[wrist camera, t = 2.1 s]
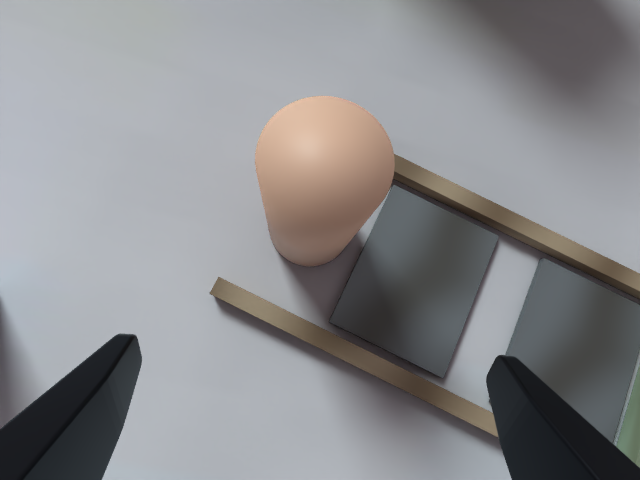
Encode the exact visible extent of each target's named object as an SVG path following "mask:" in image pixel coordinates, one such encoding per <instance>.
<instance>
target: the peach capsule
mask: <svg viewBox="0 0 640 480" xmlns="http://www.w3.org/2000/svg"><path fill="white" fill-rule="evenodd" d="M255 165H256V173H257V177H258V182H259V186H260V191H261V196H262V200H263V205H264V209H265V214H266V219H267V223H268V228H269V232H270V236H271V240H272V242H273V244H274V246H275V248H276V249H277V251H278V252H279V253H280V254H281V255H282V256H283V257H284V258H286V259H287V260H289V261H290V262H292V263H295V264H297V265H301V266H319V265H323V264H326V263H328V262H330V261H332V260H333V259H335V258H336V257H337V256H338V255H339V254H340V253H341V252H342V251H343V249H344V248H345V247H346V246H347V245H348V243H349V242H350V241H351V240H352V238H353V237H354V236H355V235H356V233H357V232H358V231H359V230H360V228H361V227H362V226H363V225H364V223H365V222H366V221H367V220H368V219H369V217H370V216H371V215H372V214H373V212H374V211H375V210H376V209H377V207H378V206H379V205H380V204H381V202H382V201H383V200H384V198H385V197H386V195H387V193H388V191H389V189H390V186H391V184H392V180H393V176H394V168H395V162H394V153H393V148H392V145H391V142H390V139H389V137H388V135H387V133H386V131H385V130H384V128H383V127H382V125H381V124H380V123H379V122H378V120H377V119H376V118H375V117H374V116H373V115H371V114H370V113H369V112H368V111H366V110H365V109H364V108H362V107H360V106H359V105H357V104H355V103H353V102H350V101H348V100H345V99H341V98H337V97H331V96H314V97H308V98H303V99H300V100H297V101H295V102H293V103H291V104H289V105H287V106H285V107H284V108H282V109H281V110H279V111H278V112H277V113H276V114H275V115H274V116H273V117H272V118H271V119H270V120H269V121H268V123H267V124H266V126H265V127H264V129H263V131H262V133H261V135H260V137H259V140H258V143H257V147H256V153H255Z"/></svg>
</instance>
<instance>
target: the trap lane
mask: <svg viewBox="0 0 640 480" xmlns="http://www.w3.org/2000/svg"><path fill="white" fill-rule="evenodd" d="M394 162H395V168H394V176H393V179H395V180H397V181H399V182H401V183H403V184H405V185H407V186H409V187H411V188H413V189H415V190H417V191H419V192H421V193H423V194H425V195H427V196H429V197H432V198H434V199H436V200H438V201H440V202H442V203H444V204H446V205H448V206H450V207H452V208H454V209H456V210H458V211H460V212H462V213H464V214H466V215H468V216H470V217H472V218H474V219H477V220H479V221H481V222H483V223H485V224H487V225H489V226H491V227H493V228H495V229H497V230H499V231H501V232H503V233H505V234H507V235H509V236H511V237H513V238H515V239H517V240H519V241H522V242H524V243H526V244H528V245H530V246H532V247H534V248H536V249H538V250H540V251H542V252H544V253H546V254H548V255H550V256H552V257H554V258H556V259H558V260H560V261H562V262H564V263H566V264H569V265H571V266H573V267H575V268H577V269H579V270H581V271H583V272H585V273H587V274H589V275H591V276H593V277H595V278H597V279H599V280H601V281H603V282H605V283H607V284H609V285H611V286H614V287H616V288H618V289H620V290H622V291H624V292H626V293H628V294H630V295H632V296H634V297H636V298H638V299H640V274H639V273H637V272H635V271H633V270H631V269H629V268H627V267H625V266H623V265H621V264H619V263H617V262H615V261H613V260H611V259H609V258H607V257H604V256H602V255H600V254H598V253H596V252H594V251H592V250H590V249H588V248H586V247H584V246H582V245H580V244H578V243H576V242H574V241H572V240H570V239H568V238H566V237H564V236H561V235H559V234H557V233H555V232H553V231H551V230H549V229H547V228H545V227H543V226H541V225H539V224H537V223H535V222H533V221H531V220H529V219H527V218H525V217H523V216H520V215H518V214H516V213H514V212H512V211H510V210H508V209H506V208H504V207H502V206H500V205H498V204H496V203H494V202H492V201H490V200H488V199H486V198H484V197H482V196H479V195H477V194H475V193H473V192H471V191H469V190H467V189H465V188H463V187H461V186H459V185H457V184H455V183H453V182H451V181H449V180H447V179H445V178H443V177H441V176H438V175H436V174H434V173H432V172H430V171H428V170H426V169H424V168H422V167H420V166H418V165H416V164H414V163H412V162H410V161H408V160H406V159H404V158H402V157H400V156H398V155H395V154H394ZM498 237H499V236H498V235H496V234H494V233H492V232H490V231H488V230H486V229H484V228H482V227H480V226H478V225H476V224H473V223H471V222H469V221H467V220H465V219H463V218H461V217H459V216H457V215H455V214H453V213H451V212H449V211H447V210H445V209H443V208H441V207H439V206H437V205H435V204H433V203H431V202H429V201H426V200H424V199H422V198H420V197H418V196H416V195H414V194H412V193H410V192H408V191H406V190H404V189H402V188H400V187H398V186H396V185H393V186H392V188H391V190H390V192H389V195H388V197H387V199H386V201H385V203H384V205H383V207H382V209H381V212H380V214H379V216H378V218H377V220H376V222H375V224H374V227H373V229H372V231H371V233H370V235H369V237H368V239H367V241H366V244H365V246H364V248H363V250H362V252H361V254H360V256H359V258H358V261H357V263H356V265H355V267H354V269H353V271H352V273H351V276H350V278H349V280H348V282H347V284H346V286H345V288H344V290H343V293H342V295H341V297H340V299H339V301H338V303H337V305H336V308H335V310H334V312H333V314H332V316H331V318H330V320H329V322H330V323H332V324H334V325H336V326H338V327H340V328H342V329H344V330H346V331H348V332H350V333H352V334H354V335H356V336H358V337H360V338H362V339H364V340H366V341H368V342H370V343H372V344H374V345H376V346H378V347H380V348H383V349H385V350H387V351H389V352H391V353H393V354H395V355H397V356H399V357H401V358H403V359H405V360H407V361H409V362H411V363H413V364H415V365H417V366H419V367H421V368H423V369H425V370H427V371H429V372H431V373H433V374H435V375H437V376H439V377H441V378H444V375H445V373H446V370H447V368H448V365H449V362H450V360H451V357H452V355H453V352H454V350H455V347H456V345H457V342H458V339H459V337H460V334H461V332H462V329H463V327H464V324H465V322H466V319H467V316H468V314H469V311H470V309H471V306H472V304H473V301H474V298H475V296H476V293H477V291H478V288H479V286H480V283H481V281H482V278H483V275H484V273H485V270H486V268H487V265H488V263H489V260H490V258H491V255H492V252H493V250H494V247H495V245H496V242H497V240H498ZM210 294H211V295H213V296H215V297H217V298H219V299H221V300H223V301H225V302H227V303H229V304H231V305H233V306H235V307H237V308H239V309H241V310H243V311H245V312H247V313H249V314H251V315H253V316H255V317H258V318H260V319H262V320H264V321H266V322H268V323H270V324H272V325H274V326H276V327H278V328H280V329H282V330H284V331H286V332H288V333H290V334H292V335H294V336H296V337H298V338H300V339H302V340H304V341H306V342H308V343H310V344H312V345H314V346H316V347H318V348H320V349H322V350H324V351H326V352H328V353H330V354H332V355H334V356H336V357H338V358H340V359H342V360H344V361H346V362H348V363H350V364H352V365H354V366H356V367H358V368H360V369H362V370H364V371H366V372H368V373H370V374H372V375H374V376H376V377H378V378H380V379H382V380H384V381H386V382H388V383H390V384H392V385H394V386H396V387H398V388H400V389H402V390H404V391H406V392H408V393H410V394H412V395H414V396H416V397H418V398H420V399H422V400H424V401H426V402H428V403H430V404H432V405H434V406H436V407H438V408H440V409H442V410H444V411H446V412H448V413H450V414H452V415H454V416H456V417H458V418H460V419H462V420H464V421H466V422H468V423H470V424H472V425H474V426H476V427H478V428H480V429H482V430H484V431H486V432H488V433H490V434H492V435H494V436H496V437H498V433H497V429H496V424H495V420H494V415H493V413H492V412H489V411H487V410H485V409H483V408H481V407H479V406H477V405H475V404H473V403H471V402H469V401H467V400H465V399H463V398H461V397H459V396H457V395H455V394H453V393H451V392H449V391H447V390H445V389H443V388H441V387H439V386H437V385H435V384H433V383H431V382H429V381H427V380H425V379H423V378H421V377H419V376H417V375H415V374H413V373H411V372H409V371H407V370H405V369H403V368H401V367H399V366H397V365H395V364H393V363H391V362H389V361H387V360H385V359H383V358H381V357H379V356H377V355H375V354H373V353H371V352H369V351H367V350H365V349H363V348H361V347H359V346H357V345H355V344H353V343H351V342H349V341H347V340H345V339H343V338H341V337H339V336H337V335H335V334H333V333H331V332H329V331H327V330H325V329H323V328H321V327H319V326H317V325H315V324H312V323H310V322H308V321H306V320H304V319H302V318H300V317H298V316H296V315H294V314H292V313H290V312H288V311H286V310H284V309H282V308H280V307H278V306H276V305H274V304H272V303H270V302H268V301H266V300H264V299H262V298H260V297H258V296H256V295H254V294H252V293H250V292H248V291H246V290H244V289H242V288H240V287H238V286H236V285H234V284H232V283H230V282H228V281H226V280H224V279H222V278H220V277H218V279H217V281H216V283H215V284H214V286H213V288H212V290H211V292H210ZM639 349H640V305H639V304H637V303H635V302H633V301H631V300H629V299H627V298H625V297H623V296H621V295H619V294H617V293H614V292H612V291H610V290H608V289H606V288H604V287H602V286H600V285H598V284H596V283H594V282H592V281H590V280H588V279H586V278H584V277H582V276H580V275H578V274H576V273H574V272H572V271H570V270H567V269H565V268H563V267H561V266H559V265H557V264H555V263H553V262H551V261H549V260H547V259H545V258H543V259H540V261H539V263H538V266H537V269H536V272H535V275H534V277H533V280H532V283H531V286H530V288H529V291H528V294H527V297H526V300H525V302H524V305H523V308H522V311H521V313H520V316H519V319H518V322H517V324H516V327H515V330H514V333H513V336H512V338H511V341H510V344H509V347H508V349H507V352H506V355H508V356H514V357H516V358H518V359H519V360H520V361H521V362H522V363H523V364H525V365H526V366H527V367H528V368H529V369H530V370H531V371H532V372H533V373H535V374H536V375H537V376H538V377H539V378H540V379H541V380H542V381H544V382H545V383H546V384H547V385H548V386H549V387H550V388H551V389H552V390H554V391H555V392H556V393H557V394H558V395H559V396H560V397H561V398H562V399H564V400H565V401H566V402H567V403H568V404H569V405H570V406H571V407H573V408H574V409H575V410H576V411H577V412H578V413H579V414H580V415H581V416H583V417H584V418H585V419H586V420H587V421H588V422H589V423H590V424H592V425H593V426H594V427H595V428H596V429H597V430H598V431H599V432H600V433H602V434H603V435H604V436H605V437H606V438H607V439H608V440H609V441H610V442H612V443H613V440H614V437H615V433H616V430H617V426H618V423H619V419H620V416H621V412H622V409H623V405H624V402H625V398H626V395H627V391H628V388H629V384H630V381H631V377H632V374H633V370H634V367H635V363H636V360H637V356H638V353H639ZM489 402H490V399H489ZM498 438H499V437H498ZM616 447H617V448H618V449H619V450H621V451H622V452H623V453H624V454H625V455H626V456H627V457H628V458H629V459H631V460H632V461H633V462H634V463H635V464H636V465H637V466H638V467H639V468H640V365H639V369H638V372H637V376H636V379H635V383H634V386H633V390H632V393H631V397H630V400H629V404H628V407H627V411H626V414H625V418H624V421H623V425H622V429H621V432H620V436H619V439H618V443H617V446H616Z"/></svg>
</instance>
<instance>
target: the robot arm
mask: <svg viewBox="0 0 640 480" xmlns="http://www.w3.org/2000/svg"><path fill="white" fill-rule="evenodd" d="M141 363H142V356H141V351H140V347H139V343H138V339H137V336H136V335H134V334H118V335H116V336H114V337H113V338H112V339H110V340H109V341H108V342H107V343H106V344H104V345H103V346H102V347H101V348H99V349H98V350H97V351H96V352H94V353H93V354H92V355H91V356H90V357H88V358H87V359H86V360H85V361H83V362H82V363H81V364H80V365H78V366H77V367H76V368H75V369H74V370H72V371H71V372H70V373H69V374H67V375H66V376H65V377H64V378H62V379H61V380H60V381H59V382H58V383H56V384H55V385H54V386H53V387H51V388H50V389H49V390H48V391H46V392H45V393H44V394H43V395H42V396H40V397H39V398H38V399H37V400H35V401H34V402H33V403H32V404H30V405H29V406H28V407H27V408H26V409H24V410H23V411H22V412H21V413H19V414H18V415H17V416H16V417H14V418H13V419H12V420H11V421H10V422H8V423H7V424H6V425H5V426H3V427H2V428H1V429H0V480H102V478H103V475H104V473H105V470H106V468H107V466H108V463H109V461H110V458H111V456H112V453H113V451H114V449H115V446H116V444H117V441H118V439H119V436H120V434H121V431H122V429H123V426H124V422H125V419H126V416H127V413H128V409H129V406H130V402H131V399H132V395H133V392H134V389H135V385H136V382H137V378H138V375H139V371H140V368H141ZM486 383H487V388H488V393H489V397H490V402H491V406H492V411H493V415H494V420H495V424H496V429H497V433H498V437H499V441H500V445H501V448H502V451H503V454H504V457H505V460H506V463H507V466H508V469H509V472H510V475H511V478H512V480H640V468H639V467H638V466H637V465H636V464H635V463H634V462H633V461H632V460H631V459H629V458H628V457H627V456H626V455H625V454H624V453H623V452H622V451H621V450H619V449H618V448H617V447H616V446H615V445H614V444H613V443H612V442H610V441H609V440H608V439H607V438H606V437H605V436H604V435H603V434H602V433H600V432H599V431H598V430H597V429H596V428H595V427H594V426H593V425H592V424H590V423H589V422H588V421H587V420H586V419H585V418H584V417H583V416H581V415H580V414H579V413H578V412H577V411H576V410H575V409H574V408H573V407H571V406H570V405H569V404H568V403H567V402H566V401H565V400H564V399H562V398H561V397H560V396H559V395H558V394H557V393H556V392H555V391H554V390H552V389H551V388H550V387H549V386H548V385H547V384H546V383H545V382H544V381H542V380H541V379H540V378H539V377H538V376H537V375H536V374H535V373H533V372H532V371H531V370H530V369H529V368H528V367H527V366H526V365H525V364H523V363H522V362H521V361H520V360H519V359H518V358H516V357H514V356H508V355H499V356H497V357H496V359H495V361H494V363H493V365H492V366H491V368H490V370H489V372H488V374H487V378H486Z"/></svg>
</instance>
